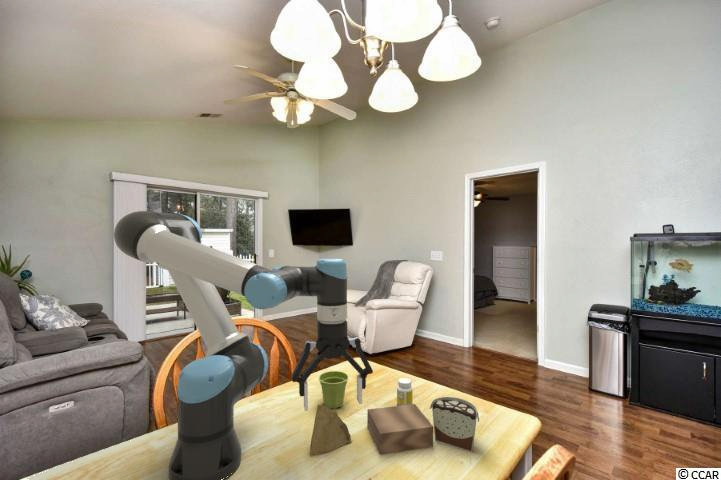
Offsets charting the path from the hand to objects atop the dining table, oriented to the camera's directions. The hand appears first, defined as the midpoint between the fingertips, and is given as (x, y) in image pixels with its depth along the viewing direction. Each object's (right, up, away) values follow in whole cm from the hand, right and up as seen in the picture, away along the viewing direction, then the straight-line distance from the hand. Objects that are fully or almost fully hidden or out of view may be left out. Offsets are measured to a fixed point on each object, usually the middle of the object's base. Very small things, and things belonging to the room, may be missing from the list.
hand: (333, 404), depth 87 cm
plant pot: (-2, -10, +22) cm, 24 cm away
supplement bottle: (+20, -11, +20) cm, 30 cm away
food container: (+32, -11, +3) cm, 34 cm away
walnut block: (+17, -11, +5) cm, 21 cm away
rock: (-1, -11, 0) cm, 11 cm away
